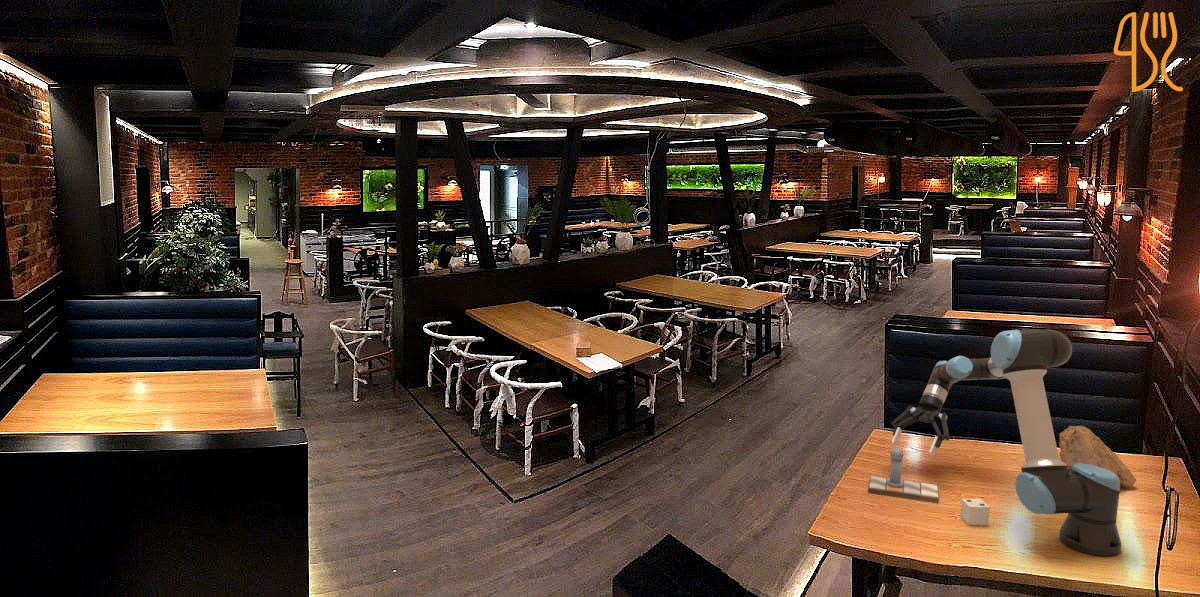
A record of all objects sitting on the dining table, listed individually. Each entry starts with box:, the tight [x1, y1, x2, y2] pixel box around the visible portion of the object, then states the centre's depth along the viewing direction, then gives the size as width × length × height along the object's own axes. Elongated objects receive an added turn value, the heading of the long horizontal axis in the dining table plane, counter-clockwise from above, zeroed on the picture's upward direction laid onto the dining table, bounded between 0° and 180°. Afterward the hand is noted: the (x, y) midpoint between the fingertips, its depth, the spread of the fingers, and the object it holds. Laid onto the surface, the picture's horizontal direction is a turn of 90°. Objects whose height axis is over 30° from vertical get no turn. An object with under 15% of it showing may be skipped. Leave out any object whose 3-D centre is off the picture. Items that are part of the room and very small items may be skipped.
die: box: [959, 498, 991, 526], centre depth 229 cm, size 6×6×6 cm
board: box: [868, 475, 940, 504], centre depth 252 cm, size 12×22×2 cm, turn 67°
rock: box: [1058, 425, 1137, 488], centre depth 262 cm, size 29×18×15 cm, turn 5°
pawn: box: [888, 447, 904, 488], centre depth 252 cm, size 5×5×13 cm
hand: (911, 449), depth 258 cm, fingers open, 13 cm apart
